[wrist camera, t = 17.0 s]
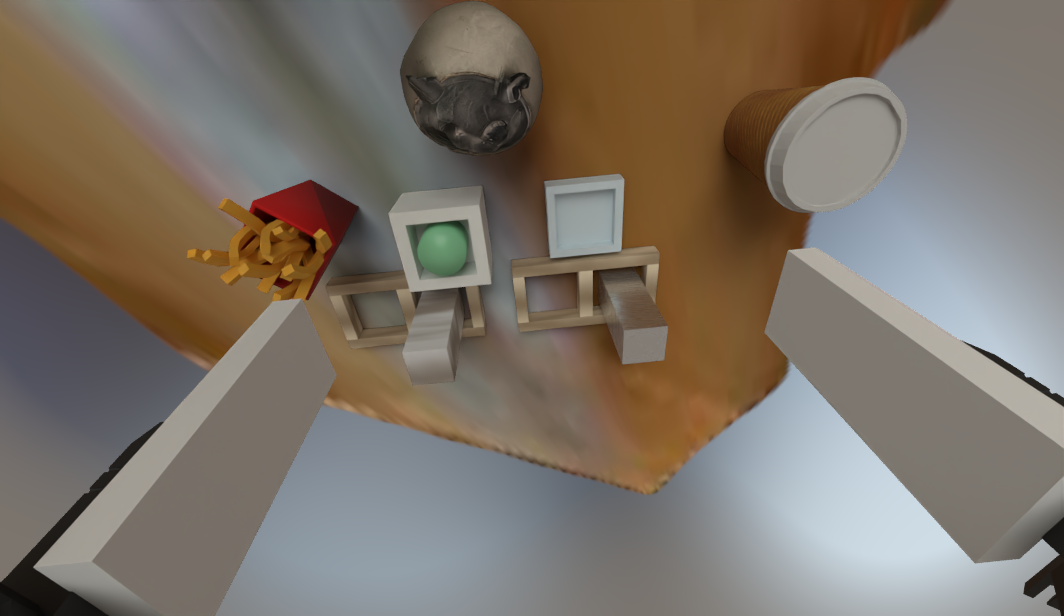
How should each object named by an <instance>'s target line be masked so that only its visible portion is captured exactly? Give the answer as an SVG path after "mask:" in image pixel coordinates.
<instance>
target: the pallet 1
mask: <svg viewBox="0 0 1064 616" xmlns="http://www.w3.org/2000/svg"><path fill="white" fill-rule="evenodd" d="M325 287H326V289H327V292H328V294H329V297H330V299H331V302H332V304H333V307H334V309H335V311H336V314H337V316H338V319H339V321H340V324H341V326H342V329H343V331H344V333H345V336H346V338H347V341H348V343H349V346H350V348H351V349H353V348H363V347H373V346H383V345H393V344H403V343H405V345H404V348H403V351H402V354H403V357H404V360H405V363H406V367H407V370H408V373H409V376H410V379H411V382H412V385H413V386H414V385H423V384H433V383H443V382H453V381H455V376H456V369H457V362H458V356H459V349H460V342H461V338H463V337H473V336H483V335H486V321H485V316H484V310H483V304H482V298H481V292H480V287H479V285H477V286H467V287H466V292H467V297H468V302H469V307H470V313H471V319H464V314H465V310H464V306H463V301H462V296H461V291H460V287H457V288H447V289H437V290H427V291H422V294H421V297H420V300H419V299H418V296H417V292H410V289H409V286H408V282H407V279H406V275H405V272H404V270H403V271H393V272H383V273H373V274H363V275H353V276H343V277H332V278H331V279H330V281H329V282H328V283H327V285H326V286H325ZM389 290H396V292H397V295H398V298H399V301H400V305H401V308H402V311H403V315H404V318H405V321H406V325H401V326H391V327H381V328H371V329H363V328H362V325H361V323H360V320H359V317H358V315H357V312H356V309H355V307H354V304H353V301H352V299H351V296H350V294H359V293H369V292H379V291H389Z"/></svg>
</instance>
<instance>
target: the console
mask: <svg viewBox="0 0 1064 616" xmlns="http://www.w3.org/2000/svg"><path fill="white" fill-rule="evenodd" d="M388 215H389V218H390V222H391V225H392V229H393V233H394V236H395V240H396V243H397V247H398V250H399V254H400V257H401V261H402V265H403V268H404V272H405V275H406V279H407V282H408V286H409V289H410V292H417V291H427V290H437V289H447V288H457V287H467V286H477V285H487V284H491V283H492V263H493V256H492V249H491V242H490V235H489V228H488V221H487V214H486V208H485V201H484V194H483V187H482V185H479V186H469V187H459V188H449V189H438V190H428V191H418V192H408V193H402V194H401V196H400V197H399V199H398V200H397V202H396V203H395V205H394V206H393V207H392V209H391V210H390V212H389V213H388ZM455 220H457V221H458V222H460V223H461V224H462V225H463V226H464V227H465V229H466V230H467V233H468V236H469V244H468V249H467V255H466V260H465V263H464V265H463V267H462V268H461V269H460V270H459V271H458V272H456V273H454V274H451V275H445V276H442V275H436V274H433V273H431V272H429V271H428V270H426V269H425V268H424V267H423V266H422V264H421V263H420V261H419V259H418V255H417V248H418V245H419V242H420V240H421V238H422V235H423V233H424V231H425V228H426V227H427V225H428V224H429V223H434V222H445V221H455Z"/></svg>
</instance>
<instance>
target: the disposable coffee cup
mask: <svg viewBox="0 0 1064 616" xmlns="http://www.w3.org/2000/svg"><path fill="white" fill-rule="evenodd" d="M906 132H907V117H906V112H905V109H904V107H903V104H902V103H901V102H900V100H899V99H898V98H897V97H896V96H895V95H894V94H893V93H892V91H890V89H889V88H888V87H887V86H885V85H884V84H882V83H881V82H879V81H876V80H873V79H870V78H858V77H856V78H848V79H842V80H839V81H836V82H833V83H830V84H828V85H826V86H815V87H801V88H789V89H777V90H763V91H758V92H755V93H752V94H751V95H749V96H747V97H746V98H744V99H743V100H742V101H741V102H740V103H739V104H738V105H737V106H736V107H735V108H734V110H733V111H732V112H731V114H730V116H729V118H728V120H727V123H726V126H725V131H724V142H725V145H726V148H727V150H728V152H729V153H730V154H731V155H732V156H733V157H735V158H736V159H737V160H738V161H739V162H740V163H741V164H742V165H744V166H745V167H746V168H747V169H748V170H749V171H751V172H752V173H753V174H754V175H755V176H756V177H757V178H758V179H759V180H761V181H762V182H763V183H764V184H765V185H766V186H768V188H769V191H770V192H771V194H772V196H773V198H774V199H776V200H777V201H778V202H779V203H780V204H781V205H782V206H784V207H786V208H788V209H790V210H792V211H796V212H801V213H813V212H828V211H833V210H837V209H841V208H843V207H845V206H848V205H850V204H852V203H854V202H856V201H857V200H859V199H861V198H862V197H863V196H865V195H866V194H868V193H869V192H870V191H872V190H873V189H874V188H875V187H876V186H877V185H878V184H879V183H880V182H881V181H882V180H883V179H884V178H885V176H886V175H887V174H888V172H889V171H890V170H891V169H892V167H893V166H894V164H895V162H896V160H897V159H898V157H899V155H900V153H901V150H902V148H903V145H904V142H905V138H906Z"/></svg>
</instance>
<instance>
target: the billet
mask: <svg viewBox="0 0 1064 616" xmlns="http://www.w3.org/2000/svg"><path fill="white" fill-rule="evenodd" d="M598 301H599V303H600V306H601V309H602V311H603V314H604V317H605V319H606V322H607V325H608V327H609V330H610V333H611V336H612V338H613V341H614V344H615V346H616V349H617V352H618V354H619V357H620V360H621V362H622V364H631V363H641V362H651V361H661V360H664V356H665V348H666V340H667V332H668V325H667V323H666V321H665V320H664V318H663V316H662V315H661V313H660V311H659V309H658V308H657V306H656V304H655V303H654V301H653V299H652V297H651V296H650V294H649V292H648V291H647V289H646V287H645V286H644V284H643V282H642V280H641V279H640V277H639V275H638V274H637V272H636V270H635V269H634V267H633V266H632V267H622V268H611V269H601V270H598Z"/></svg>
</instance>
